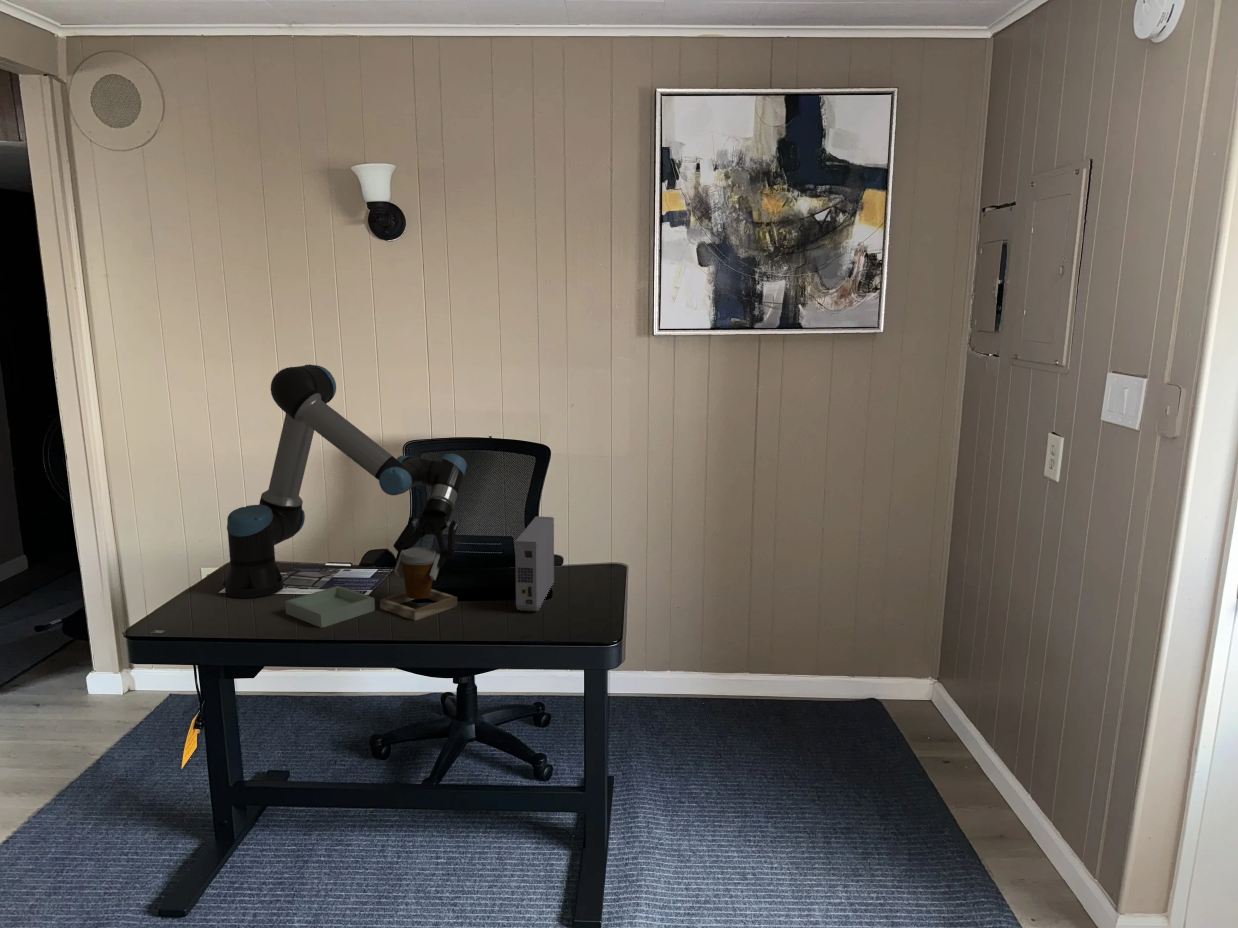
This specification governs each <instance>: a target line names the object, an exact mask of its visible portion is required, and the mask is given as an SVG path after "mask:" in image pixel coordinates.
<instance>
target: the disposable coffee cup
mask: <svg viewBox="0 0 1238 928" xmlns="http://www.w3.org/2000/svg"><path fill="white" fill-rule="evenodd" d="M436 555H437V552H436V551H435V550H434V549H432V548H430V547H429V548H428V547H421V546H420V547H411V548H410V549H406V550H404V551H403V553H402V555H401V560H402V562H403V570H402V572H403V576H404V577H403V578H404V586H405V587H404V588H405V592H406V596H407V597H409V598H412V599H414V600H422V599H423V600H424V599H428V598H427V597H429V596H430V593H431V589H432V586H433V581H434V580H433V579H432V578H431V577H430V572H431V569H432V567H433V564H434V561H435V558H436Z"/></svg>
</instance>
